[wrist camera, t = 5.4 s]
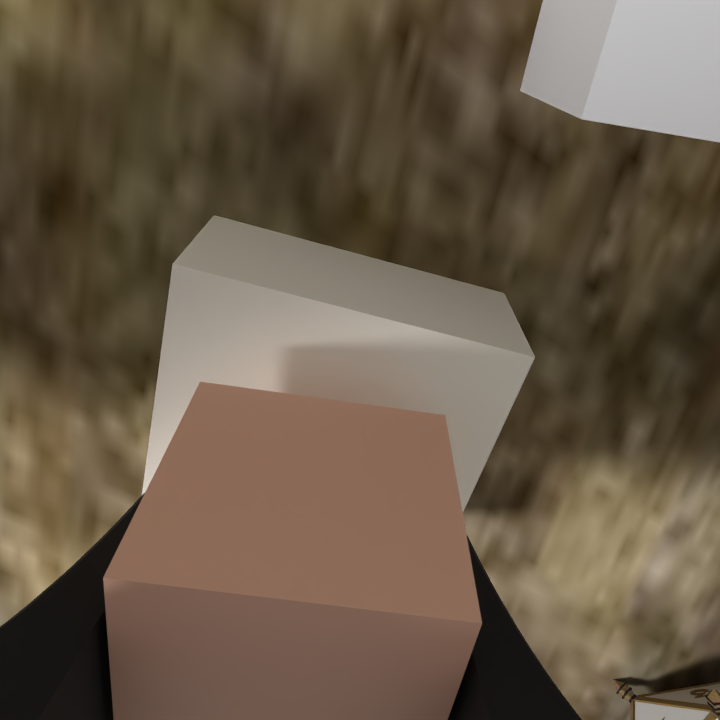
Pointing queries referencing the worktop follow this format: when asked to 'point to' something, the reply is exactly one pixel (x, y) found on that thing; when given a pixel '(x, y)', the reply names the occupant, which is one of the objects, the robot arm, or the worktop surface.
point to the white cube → (630, 63)
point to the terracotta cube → (294, 567)
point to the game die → (674, 703)
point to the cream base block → (336, 337)
